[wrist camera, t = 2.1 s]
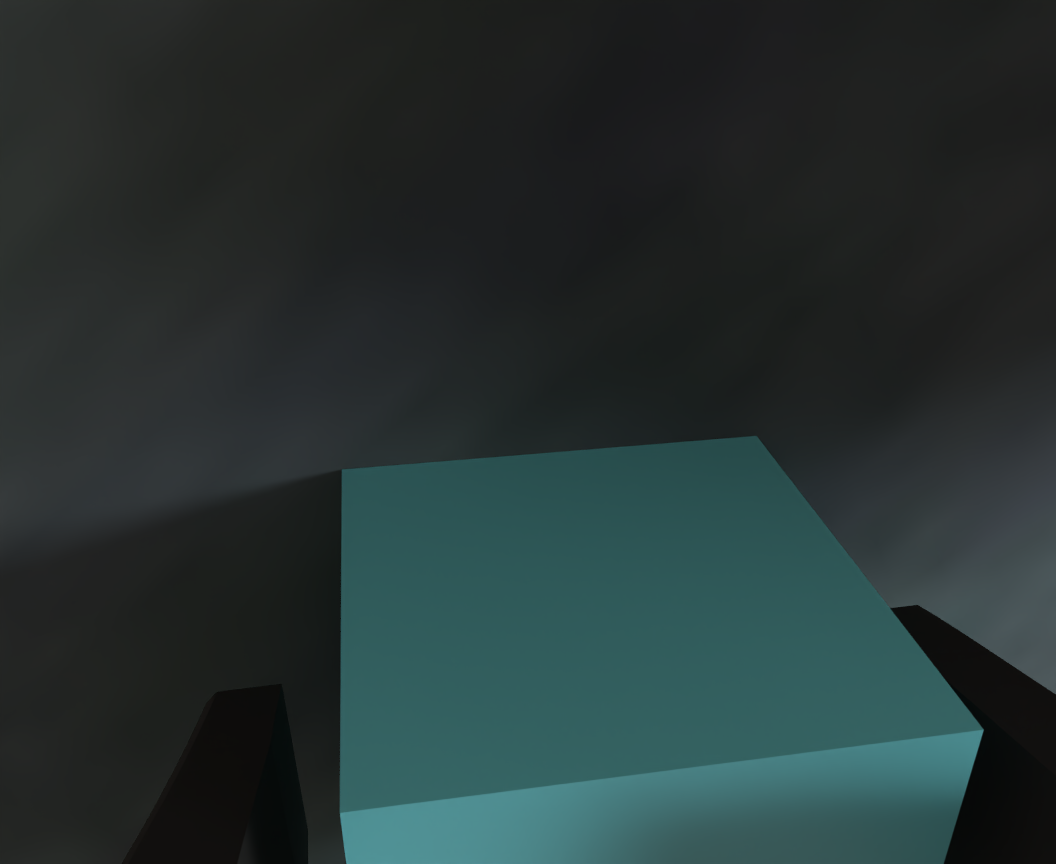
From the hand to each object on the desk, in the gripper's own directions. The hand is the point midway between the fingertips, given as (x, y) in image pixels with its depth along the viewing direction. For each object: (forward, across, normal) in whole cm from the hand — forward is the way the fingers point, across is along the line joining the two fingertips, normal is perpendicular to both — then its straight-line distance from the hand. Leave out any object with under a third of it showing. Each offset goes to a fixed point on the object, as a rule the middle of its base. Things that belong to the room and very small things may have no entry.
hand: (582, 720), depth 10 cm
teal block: (+2, 0, 0) cm, 2 cm away
